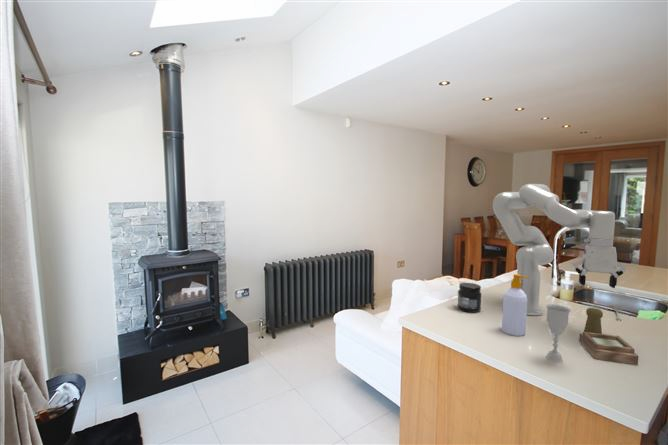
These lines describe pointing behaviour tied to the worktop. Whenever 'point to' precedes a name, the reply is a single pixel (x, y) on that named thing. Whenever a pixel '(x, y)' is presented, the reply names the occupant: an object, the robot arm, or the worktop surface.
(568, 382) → the worktop surface
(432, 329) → the worktop surface
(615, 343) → the brown wooden flat frame
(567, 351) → the worktop surface
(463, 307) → the supplement container
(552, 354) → the chalice
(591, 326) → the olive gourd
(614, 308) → the soupspoon
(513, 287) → the soap bottle
